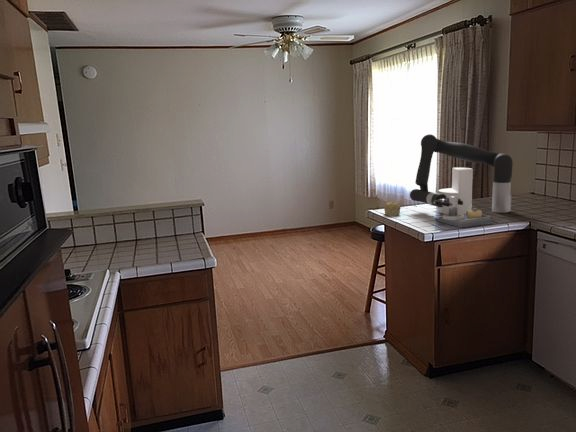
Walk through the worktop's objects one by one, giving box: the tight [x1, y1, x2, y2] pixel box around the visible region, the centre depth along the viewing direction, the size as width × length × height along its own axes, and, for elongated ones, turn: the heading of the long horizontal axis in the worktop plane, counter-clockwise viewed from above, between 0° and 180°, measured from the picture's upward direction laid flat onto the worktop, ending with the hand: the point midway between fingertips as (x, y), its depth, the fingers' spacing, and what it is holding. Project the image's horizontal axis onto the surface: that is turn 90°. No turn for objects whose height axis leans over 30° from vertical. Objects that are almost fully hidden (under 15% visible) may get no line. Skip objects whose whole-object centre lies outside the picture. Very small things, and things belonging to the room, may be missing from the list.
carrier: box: [437, 207, 493, 228], centre depth 250 cm, size 20×18×8 cm
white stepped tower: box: [437, 167, 474, 214], centre depth 276 cm, size 19×19×25 cm
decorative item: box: [383, 201, 402, 217], centre depth 278 cm, size 10×10×10 cm
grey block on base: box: [446, 196, 460, 217], centre depth 251 cm, size 7×7×12 cm
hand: (455, 203), depth 249 cm, fingers open, 8 cm apart
